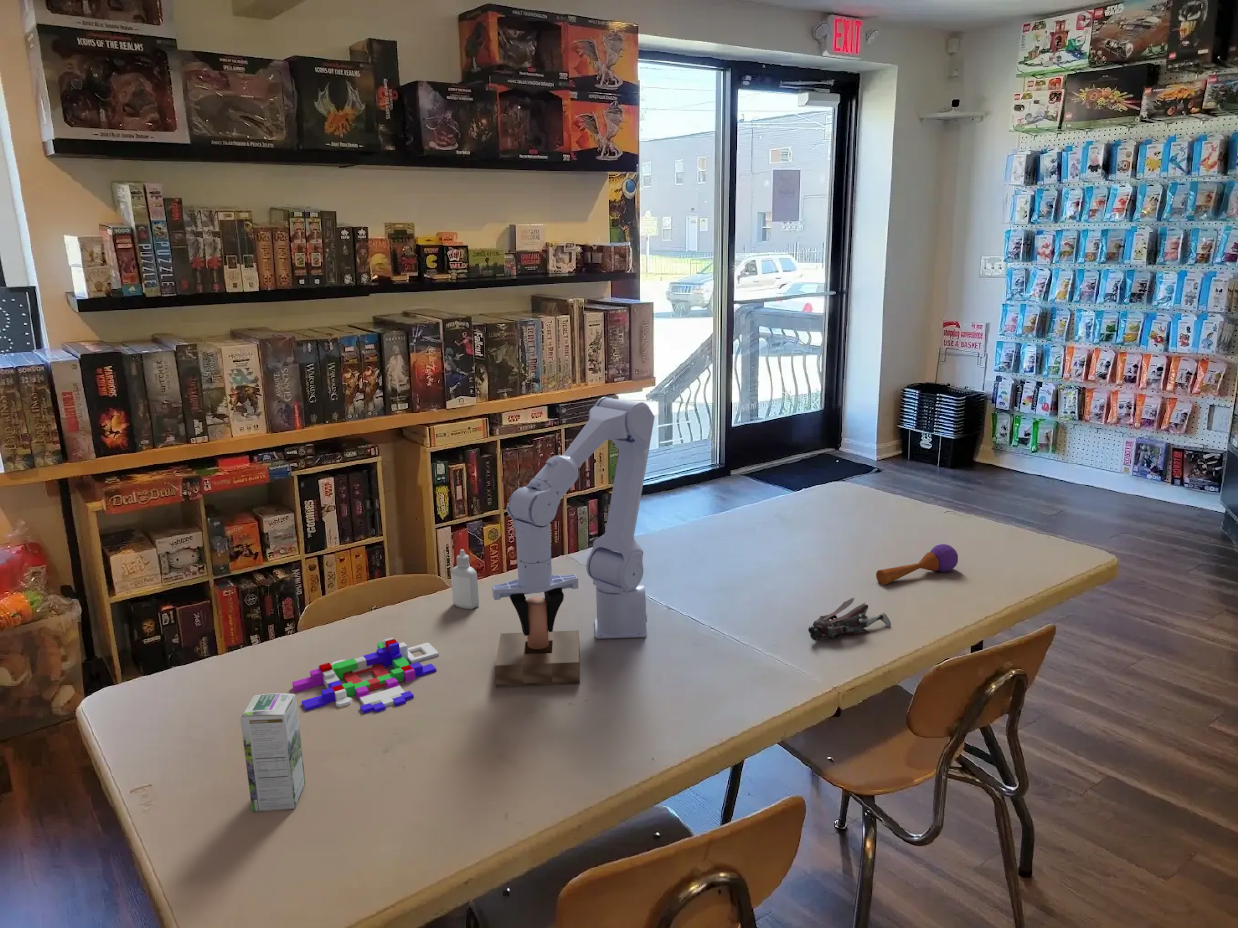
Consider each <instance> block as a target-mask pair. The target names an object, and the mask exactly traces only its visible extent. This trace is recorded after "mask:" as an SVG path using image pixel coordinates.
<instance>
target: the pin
mask: <svg viewBox="0 0 1238 928" xmlns="http://www.w3.org/2000/svg"><path fill="white" fill-rule="evenodd" d="M526 601H527V603H528V614H527V619H528V628H529V635H528V636H527V639H528V647H530V648H532V649H542V648H545V647H547V646H548V645H549V640H548V632H549V631H548V617H547V600H546V599H545V597H544V598H543V597H535V596H534V597H531V598H527V599H526Z"/></svg>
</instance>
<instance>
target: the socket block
mask: <svg viewBox="0 0 1238 928" xmlns="http://www.w3.org/2000/svg"><path fill="white" fill-rule="evenodd" d="M548 640H549V645H548V646H547V647H545V648H542V649H532V648H530V647H528V639H527V636H525V635H524V633H523V632H507V633H506V632H505V633H500V636H499V641H498V645H497V653H496V657H495V663H494V664H495V665H494V670H495V671H494V672H495V687H496V688H503V687H504V688H506V687H510V688H511V687H529V686H532V687H533V686H551V685H552V686H555V685H559V686H560V685H577V684H578V685H579V684H581V677H580V676H581V675H580V674H581V673H580V672H581V671H580V669H581V667H580V665H581V663H580V661H581V660H580V659H581V658H580V651H581V650H580V630H557V631H553V632H549V631H548Z"/></svg>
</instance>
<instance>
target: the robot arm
mask: <svg viewBox="0 0 1238 928" xmlns="http://www.w3.org/2000/svg"><path fill="white" fill-rule="evenodd" d="M654 423H655V415H654V413H653V412H652V410H651V407H649V405H648V404H647V403H645V402H644V401H643V402H642V401H638V402H637V401H632V400H625V399H620V398H619V399H617V398H613V397H610V396H603V397H600V398H599V399H598V400H597V401H596V402H595V404H594V405H593V407H591V408H590V410H589V412H588V420H587V422H586V424H584V426H583V428H582V429H581V430H580V431H579V433H578V434H577V436H576V437H575V438H574V440H573V441H572V442H571V444H570V445H569V446H568V448H567V449H566V450H565V451H564V453H563V454H562V455H556V454H555V455H553V456H551V457H549V458H548V459H547V460H546V461H545V463H546V464H545V465H544V466H543V467H542V468H541V469H540V470H539V472H537V474H536V475H535V476H534V477H533V478H532V479H531V480H530V481H529V483H528V484H527V485H526V486H522V487H519V488H517V489H516V490H514V491H513V492H512V494H510V497H509V500H508V504H507V505H506V512H507V514H508V516H509V517H510V518H511V520H512V528H514V529H515V542H516V546H515V547H516V559H517V562H516V563H517V577H518V578H517V579H516V578H515V579H513V580H510V581H506V582H503V583H498V584H493V585H492V586H491V591H492V592H491V593H492V597H493V600H494V601H499V600H501V598H509V600H510V601H511V603H512V605H513V606H514V608H515V611H516V613H517V616H518V619H519V622H520V624H521V630H522V633H524V635H525V636H528V635H529V628H528V619H527V614H528V603H527V601H526V600H527V596H525V595H529V594H530V595H531V594H539V593H543V594H544V599H546V600H547V617H548V632H553V630H554V625H555V621H556V617H557V613H558V611H559V609H560V606H561V605H562V603H563V602H564V599H565V598H564V597H565V594H564V592H563V590H566V589H572V590H576V589H579V578H578V577H577V574H575V573H573V574H553V570H552V569H553V568H552V546H551V544H552V543H551V522H552V521H554V519H555V517H556V514H557V513H558V507H559V506H560V504H561V499H562V498H563V496H564V495H565V494H566V493H567V492H568V491H569V490H570V489H571V487H572V486H573V485H574V484H575V483H576V481H577V480H578V479H579V475H580V473H579V467H581V466H582V465H583V464H584V463H586V461H587V460H588V459H589V458H590V457H591V456H592V455H593V454H595V452H596V451H597V450H598V449H599V448H600V447H601V446H602V445H603V444H604V443H605V442H606V441H612V442H613V444H614V445H615V447H616V448H617V450H618V457H617V462H616V468H615V474H614V479H613V486H612V491H611V496H610V503H609V509H608V514H607V521H606V526H605V532H604V534H602V535H601V536H599V537H598V538H596V539H595V540H594V541H593V545H592V549H591V550H590V551H591V552H590V554H589V555H588V557H587V560H586V565H585V567H586V573H587V575H588V576H589V577H590V578H591V579H592V584H593V586H595V593H596V594H595V597H596V600H595V601H596V618H595V619H594V630H595V631H594V632H595V633H594V635H595V636H594V637H595V639H598V640H601V639H624V638H626V639H629V638H646V637H647V623H648V614H647V603H646V602H647V601H646V599H647V598H646V597H647V596H646V587H645V585H644V584H642V583H641V581H642V579H643V577H644V564H643V563H644V562H643V560H644V559H643V557H644V550H643V548H642V547H641V546H640V544H639V543H638V542H637V540H636V539H635V533H636V527H637V521H638V515H639V511H640V505H641V498H642V493H643V486H644V481H645V474H646V470H647V463H648V458H649V452H650V448H651V447H650V446H651V439H652V435H653V428H654ZM640 583H641V584H640Z"/></svg>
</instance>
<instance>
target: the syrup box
mask: <svg viewBox="0 0 1238 928" xmlns="http://www.w3.org/2000/svg"><path fill="white" fill-rule="evenodd" d="M299 722H300V721H299V714H298V704H297V695H296V694H294V693H285V692H284V693H283V692H282V693H281V692H279V693H278V692H277V693H276V692H275V693H263V694H262V693H261V694H256V695H253V696H252V699H250V702H249V703H248V705H247V707H246V708H245V710H244V712H243V713H242V715H241V716H240V725H241V734H242V742H243V748H244V749H243V751H244V756H245V757H244V759H245V764H246V765H245V766H246V767H245V768H246V773H247V774H246V775H247V780H248V781H247V782H248V788H249V789H248V790H249V795H250V804H251V811H252V812H253V813H258V812H269V811H270V812H271V811H272V812H273V811H282V810H283V811H285V810H295V809H296V807H297V805H298V802H299V801H300V799H301V795H302V792H303V790H304V788H305V786H306V777H305V768H304V767H305V766H304V759H303V757H304V755H303V748H302V738H301V731H300V723H299Z"/></svg>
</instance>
